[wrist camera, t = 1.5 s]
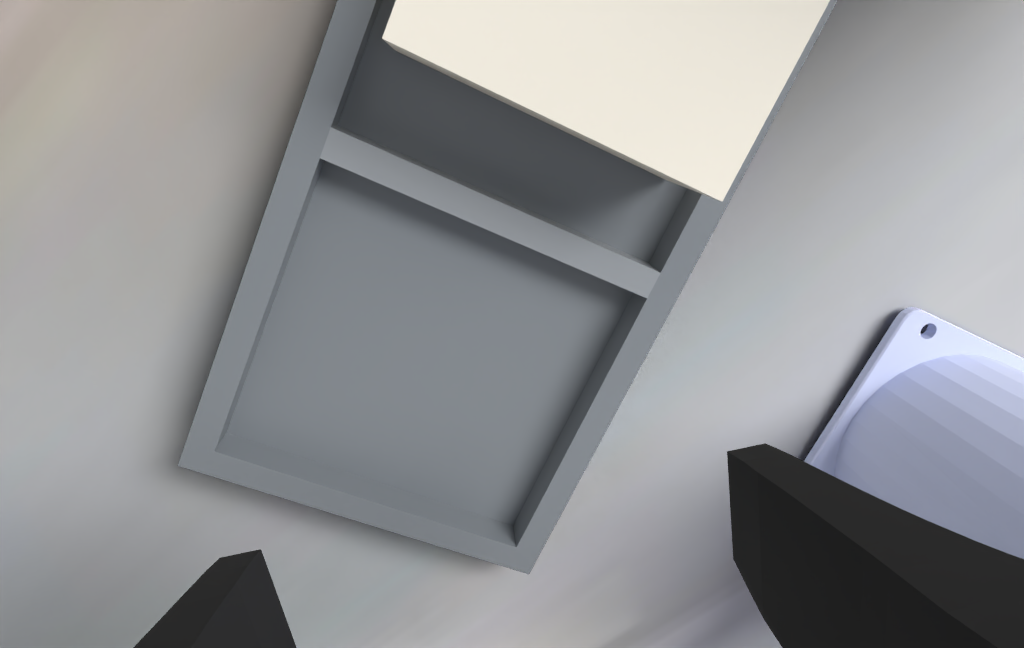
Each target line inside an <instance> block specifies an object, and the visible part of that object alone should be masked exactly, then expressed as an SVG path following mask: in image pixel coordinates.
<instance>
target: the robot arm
mask: <svg viewBox="0 0 1024 648" xmlns="http://www.w3.org/2000/svg"><path fill="white" fill-rule="evenodd" d="M926 324H928V327H927V330H926V331H925V332H924V333H923V334H921V333H920V332H921V329H922V328H923V327H924V326H925V325H926ZM727 455H728V473H729V490H730V507H731V525H732V542H733V559H734V561H735V563H736V565H737V567H738V569H739V571H740V573H741V575H742V577H743V579H744V581H745V583H746V585H747V587H748V589H749V591H750V593H751V595H752V597H753V599H754V601H755V603H756V605H757V607H758V609H759V611H760V612H761V614H762V616H763V618H764V620H765V621H766V623H767V624H768V626H769V628H770V629H771V631H772V632H773V634H774V635H775V637H776V638H777V640H778V641H779V643H780V644H781V646H782V647H783V648H1024V358H1022V357H1020V356H1018V355H1016V354H1014V353H1012V352H1010V351H1008V350H1006V349H1003V348H1001V347H999V346H997V345H995V344H993V343H991V342H989V341H987V340H984V339H982V338H980V337H978V336H976V335H974V334H972V333H970V332H968V331H966V330H963V329H961V328H959V327H957V326H955V325H953V324H951V323H949V322H947V321H944V320H942V319H940V318H938V317H936V316H934V315H932V314H930V313H928V312H925V311H923V310H921V309H919V308H915V307H909V308H906V309H904V310H902V311H901V312H900V313H899V314H898V315H897V316H896V318H895V319H894V321H893V323H892V324H891V326H890V327H889V329H888V330H887V332H886V334H885V335H884V337H883V338H882V340H881V341H880V343H879V344H878V346H877V348H876V349H875V351H874V352H873V354H872V355H871V357H870V359H869V360H868V362H867V363H866V365H865V366H864V368H863V369H862V371H861V373H860V374H859V376H858V377H857V379H856V380H855V382H854V384H853V385H852V387H851V388H850V390H849V391H848V393H847V394H846V396H845V398H844V399H843V401H842V402H841V404H840V405H839V407H838V409H837V410H836V412H835V413H834V415H833V416H832V418H831V420H830V421H829V423H828V424H827V426H826V427H825V429H824V430H823V432H822V434H821V435H820V437H819V438H818V440H817V441H816V443H815V445H814V446H813V448H812V449H811V451H810V452H809V454H808V455H807V457H806V459H805V460H804V461H802V460H800V459H798V458H796V457H794V456H792V455H790V454H787V453H785V452H783V451H781V450H779V449H777V448H774V447H772V446H770V445H767V444H761V445H756V446H751V447H747V448H742V449H737V450H732V451H728V452H727ZM134 648H296V645H295V643H294V640H293V637H292V634H291V631H290V629H289V626H288V623H287V620H286V618H285V615H284V612H283V609H282V607H281V604H280V601H279V598H278V595H277V593H276V590H275V587H274V584H273V582H272V579H271V576H270V573H269V571H268V568H267V565H266V562H265V559H264V557H263V554H262V551H261V549H260V550H256V551H251V552H246V553H241V554H237V555H232V556H227V557H222V558H219V559H218V560H217V561H216V562H215V563H214V564H213V565H212V566H211V567H210V568H209V569H208V570H207V571H206V572H205V573H204V574H203V575H202V576H201V577H200V578H199V579H198V580H197V581H196V582H195V583H194V584H193V585H192V586H191V587H190V588H189V589H188V591H187V592H186V593H185V594H184V595H183V596H182V597H181V598H180V599H179V600H178V601H177V602H176V603H175V604H174V605H173V606H172V608H171V609H170V610H169V611H168V612H167V613H166V614H165V615H164V616H163V617H162V618H161V619H160V620H159V621H158V623H157V624H156V625H155V626H154V627H153V628H152V629H151V630H150V631H149V632H148V633H147V634H146V635H145V636H144V637H143V638H142V639H141V640H140V641H139V643H138V644H137V645H136V646H135V647H134Z"/></svg>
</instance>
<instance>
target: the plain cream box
mask: <svg viewBox="0 0 1024 648" xmlns="http://www.w3.org/2000/svg"><path fill="white" fill-rule="evenodd" d="M829 2H830V0H396V1H395V4H394V7H393V10H392V12H391V15H390V18H389V20H388V23H387V26H386V29H385V31H384V34H383V37H382V39H383V40H384V41H385V42H386V43H387V44H389V45H390V46H391V47H392V48H393V49H394V50H395V51H397V52H399V53H401V54H403V55H405V56H407V57H410V58H412V59H414V60H416V61H418V62H420V63H422V64H424V65H426V66H428V67H430V68H433V69H435V70H437V71H439V72H441V73H443V74H445V75H447V76H449V77H451V78H453V79H456V80H458V81H460V82H462V83H464V84H466V85H468V86H470V87H472V88H474V89H476V90H479V91H481V92H483V93H485V94H487V95H489V96H491V97H493V98H495V99H497V100H499V101H502V102H504V103H506V104H508V105H510V106H512V107H514V108H516V109H518V110H520V111H523V112H525V113H527V114H529V115H531V116H533V117H535V118H537V119H539V120H541V121H543V122H546V123H548V124H550V125H552V126H554V127H556V128H558V129H560V130H562V131H564V132H566V133H569V134H571V135H573V136H575V137H577V138H579V139H581V140H583V141H585V142H587V143H589V144H592V145H594V146H596V147H598V148H600V149H602V150H604V151H606V152H608V153H610V154H612V155H615V156H617V157H619V158H621V159H623V160H625V161H627V162H629V163H631V164H633V165H635V166H638V167H640V168H642V169H644V170H646V171H648V172H650V173H652V174H654V175H656V176H658V177H661V178H663V179H665V180H667V181H670V182H672V183H675V184H678V185H680V186H683V187H685V188H688V189H690V190H693V191H696V192H698V193H701V194H703V195H706V196H709V197H711V198H714V199H716V200H719V201H723V200H724V198H725V196H726V194H727V192H728V190H729V188H730V187H731V185H732V183H733V181H734V179H735V177H736V175H737V173H738V172H739V170H740V168H741V166H742V164H743V162H744V160H745V158H746V157H747V155H748V153H749V151H750V149H751V147H752V145H753V144H754V142H755V140H756V138H757V136H758V134H759V132H760V130H761V129H762V127H763V125H764V123H765V121H766V119H767V117H768V115H769V114H770V112H771V110H772V108H773V106H774V104H775V102H776V101H777V99H778V97H779V95H780V93H781V91H782V89H783V87H784V86H785V84H786V82H787V80H788V78H789V76H790V74H791V73H792V71H793V69H794V67H795V65H796V63H797V61H798V59H799V58H800V56H801V54H802V52H803V50H804V48H805V46H806V44H807V43H808V41H809V39H810V37H811V35H812V33H813V31H814V30H815V28H816V26H817V24H818V22H819V20H820V18H821V16H822V15H823V13H824V11H825V9H826V7H827V5H828V3H829Z"/></svg>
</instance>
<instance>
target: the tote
mask: <svg viewBox="0 0 1024 648" xmlns="http://www.w3.org/2000/svg"><path fill="white" fill-rule="evenodd" d="M395 1H396V0H338V1H337V3H336V6H335V9H334V12H333V15H332V18H331V21H330V24H329V27H328V30H327V33H326V35H325V38H324V41H323V44H322V47H321V50H320V53H319V56H318V59H317V62H316V65H315V67H314V70H313V73H312V76H311V79H310V82H309V85H308V88H307V91H306V94H305V97H304V100H303V102H302V105H301V108H300V111H299V114H298V117H297V120H296V123H295V126H294V129H293V132H292V134H291V137H290V140H289V143H288V146H287V149H286V152H285V155H284V158H283V161H282V164H281V166H280V169H279V172H278V175H277V178H276V181H275V184H274V187H273V190H272V193H271V196H270V198H269V201H268V204H267V207H266V210H265V213H264V216H263V219H262V222H261V225H260V228H259V230H258V233H257V236H256V239H255V242H254V245H253V248H252V251H251V254H250V257H249V260H248V263H247V265H246V268H245V271H244V274H243V277H242V280H241V283H240V286H239V289H238V292H237V295H236V297H235V300H234V303H233V306H232V309H231V312H230V315H229V318H228V321H227V324H226V327H225V329H224V332H223V335H222V338H221V341H220V344H219V347H218V350H217V353H216V356H215V359H214V361H213V364H212V367H211V370H210V373H209V376H208V379H207V382H206V385H205V388H204V391H203V393H202V396H201V399H200V402H199V405H198V408H197V411H196V414H195V417H194V420H193V423H192V426H191V428H190V431H189V434H188V437H187V440H186V443H185V446H184V449H183V452H182V455H181V458H180V460H179V463H178V466H180V467H183V468H186V469H190V470H193V471H196V472H199V473H203V474H206V475H209V476H212V477H216V478H219V479H222V480H225V481H228V482H232V483H235V484H238V485H241V486H245V487H248V488H251V489H254V490H258V491H261V492H264V493H267V494H271V495H274V496H277V497H280V498H283V499H287V500H290V501H293V502H296V503H300V504H303V505H306V506H309V507H313V508H316V509H319V510H322V511H326V512H329V513H332V514H335V515H338V516H342V517H345V518H348V519H351V520H355V521H358V522H361V523H364V524H368V525H371V526H374V527H377V528H381V529H384V530H387V531H390V532H393V533H397V534H400V535H403V536H406V537H410V538H413V539H416V540H419V541H423V542H426V543H429V544H432V545H436V546H439V547H442V548H445V549H449V550H452V551H455V552H458V553H461V554H465V555H468V556H471V557H474V558H478V559H481V560H484V561H487V562H491V563H494V564H497V565H500V566H504V567H507V568H510V569H513V570H516V571H520V572H523V573H526V574H529V573H530V571H531V570H532V568H533V566H534V564H535V562H536V560H537V558H538V557H539V555H540V553H541V551H542V549H543V547H544V545H545V544H546V542H547V540H548V538H549V536H550V534H551V532H552V531H553V529H554V527H555V525H556V523H557V521H558V519H559V518H560V516H561V514H562V512H563V510H564V508H565V506H566V505H567V503H568V501H569V499H570V497H571V495H572V493H573V492H574V490H575V488H576V486H577V484H578V482H579V480H580V479H581V477H582V475H583V473H584V471H585V469H586V467H587V466H588V464H589V462H590V460H591V458H592V456H593V454H594V453H595V451H596V449H597V447H598V445H599V443H600V441H601V440H602V438H603V436H604V434H605V432H606V430H607V428H608V427H609V425H610V423H611V421H612V419H613V417H614V415H615V414H616V412H617V410H618V408H619V406H620V404H621V402H622V401H623V399H624V397H625V395H626V393H627V391H628V389H629V388H630V386H631V384H632V382H633V380H634V378H635V376H636V375H637V373H638V371H639V369H640V367H641V365H642V363H643V362H644V360H645V358H646V356H647V354H648V352H649V350H650V348H651V347H652V345H653V343H654V341H655V339H656V337H657V335H658V334H659V332H660V330H661V328H662V326H663V324H664V322H665V321H666V319H667V317H668V315H669V313H670V311H671V309H672V308H673V306H674V304H675V302H676V300H677V298H678V296H679V295H680V293H681V291H682V289H683V287H684V285H685V283H686V282H687V280H688V278H689V276H690V274H691V272H692V270H693V269H694V267H695V265H696V263H697V261H698V259H699V257H700V256H701V254H702V252H703V250H704V248H705V246H706V244H707V243H708V241H709V239H710V237H711V235H712V233H713V231H714V230H715V228H716V226H717V224H718V222H719V220H720V218H721V217H722V215H723V213H724V211H725V209H726V207H727V205H728V204H729V202H730V200H731V198H732V196H733V194H734V192H735V191H736V189H737V187H738V185H739V183H740V181H741V179H742V178H743V176H744V174H745V172H746V170H747V168H748V166H749V165H750V163H751V161H752V159H753V157H754V155H755V153H756V152H757V150H758V148H759V146H760V144H761V142H762V140H763V139H764V137H765V135H766V133H767V131H768V129H769V127H770V126H771V124H772V122H773V120H774V118H775V116H776V114H777V112H778V111H779V109H780V107H781V105H782V103H783V101H784V99H785V98H786V96H787V94H788V92H789V90H790V88H791V86H792V85H793V83H794V81H795V79H796V77H797V75H798V73H799V72H800V70H801V68H802V66H803V64H804V62H805V60H806V59H807V57H808V55H809V53H810V51H811V49H812V47H813V46H814V44H815V42H816V40H817V38H818V36H819V34H820V33H821V31H822V29H823V27H824V25H825V23H826V21H827V20H828V18H829V16H830V14H831V12H832V10H833V8H834V7H835V5H836V3H837V1H838V0H830V2H829V3H828V5H827V7H826V9H825V11H824V13H823V15H822V16H821V18H820V20H819V22H818V24H817V26H816V28H815V30H814V31H813V33H812V35H811V37H810V39H809V41H808V43H807V44H806V46H805V48H804V50H803V52H802V54H801V56H800V58H799V59H798V61H797V63H796V65H795V67H794V69H793V71H792V73H791V74H790V76H789V78H788V80H787V82H786V84H785V86H784V87H783V89H782V91H781V93H780V95H779V97H778V99H777V101H776V102H775V104H774V106H773V108H772V110H771V112H770V114H769V115H768V117H767V119H766V121H765V123H764V125H763V127H762V129H761V130H760V132H759V134H758V136H757V138H756V140H755V142H754V144H753V145H752V147H751V149H750V151H749V153H748V155H747V157H746V158H745V160H744V162H743V164H742V166H741V168H740V170H739V172H738V173H737V175H736V177H735V179H734V181H733V183H732V185H731V187H730V188H729V190H728V192H727V194H726V196H725V198H724V200H723V201H719V200H716V199H714V198H711V197H709V196H706V195H703V194H701V193H698V192H696V191H693V190H690V189H688V188H685V187H683V186H680V185H678V184H675V183H672V182H670V181H667V180H665V179H663V178H661V177H658V176H656V175H654V174H652V173H650V172H648V171H646V170H644V169H642V168H640V167H638V166H635V165H633V164H631V163H629V162H627V161H625V160H623V159H621V158H619V157H617V156H615V155H612V154H610V153H608V152H606V151H604V150H602V149H600V148H598V147H596V146H594V145H592V144H589V143H587V142H585V141H583V140H581V139H579V138H577V137H575V136H573V135H571V134H569V133H566V132H564V131H562V130H560V129H558V128H556V127H554V126H552V125H550V124H548V123H546V122H543V121H541V120H539V119H537V118H535V117H533V116H531V115H529V114H527V113H525V112H523V111H520V110H518V109H516V108H514V107H512V106H510V105H508V104H506V103H504V102H502V101H499V100H497V99H495V98H493V97H491V96H489V95H487V94H485V93H483V92H481V91H479V90H476V89H474V88H472V87H470V86H468V85H466V84H464V83H462V82H460V81H458V80H456V79H453V78H451V77H449V76H447V75H445V74H443V73H441V72H439V71H437V70H435V69H433V68H430V67H428V66H426V65H424V64H422V63H420V62H418V61H416V60H414V59H412V58H410V57H407V56H405V55H403V54H401V53H399V52H397V51H395V50H394V49H393V48H392V47H391V46H390V45H389V44H387V43H386V42H385V41H384V40H383V39H382V37H383V34H384V31H385V29H386V26H387V23H388V20H389V18H390V15H391V12H392V10H393V7H394V4H395Z"/></svg>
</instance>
